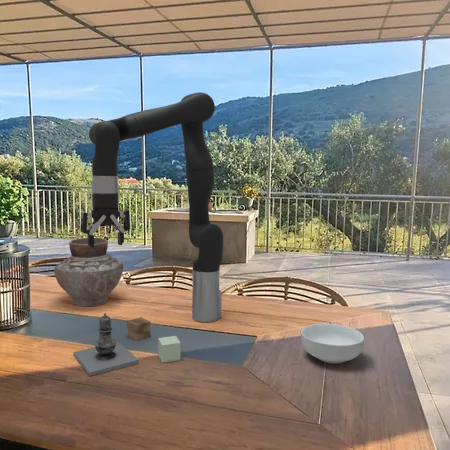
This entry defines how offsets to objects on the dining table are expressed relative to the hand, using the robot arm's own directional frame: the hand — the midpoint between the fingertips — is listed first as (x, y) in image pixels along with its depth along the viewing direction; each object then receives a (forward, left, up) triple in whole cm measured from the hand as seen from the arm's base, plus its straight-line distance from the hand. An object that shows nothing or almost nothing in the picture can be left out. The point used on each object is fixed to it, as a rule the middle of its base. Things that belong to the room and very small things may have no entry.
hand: (106, 246), depth 128 cm
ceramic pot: (-6, -36, -28) cm, 46 cm away
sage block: (-9, +23, -28) cm, 37 cm away
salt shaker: (+6, +15, -27) cm, 32 cm away
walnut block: (-8, +5, -28) cm, 30 cm away
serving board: (+6, +15, -28) cm, 32 cm away
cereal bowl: (-47, +47, -28) cm, 72 cm away
